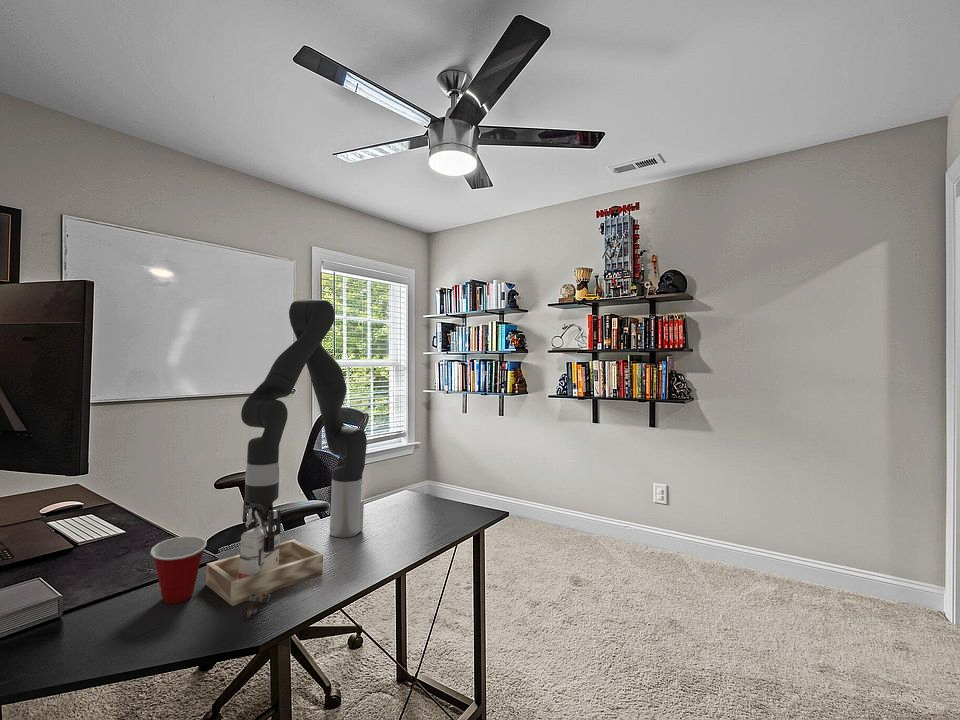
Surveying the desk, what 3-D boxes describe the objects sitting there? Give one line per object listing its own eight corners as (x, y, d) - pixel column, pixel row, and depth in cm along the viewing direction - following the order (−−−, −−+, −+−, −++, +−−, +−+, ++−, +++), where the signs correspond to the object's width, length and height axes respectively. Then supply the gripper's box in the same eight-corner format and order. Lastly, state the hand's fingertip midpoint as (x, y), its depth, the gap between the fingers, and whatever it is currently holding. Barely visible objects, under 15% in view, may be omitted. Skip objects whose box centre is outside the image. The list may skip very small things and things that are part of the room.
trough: (293, 557, 134) (293, 539, 134) (322, 574, 125) (323, 554, 125) (205, 584, 116) (206, 563, 116) (232, 606, 107) (233, 583, 107)
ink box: (254, 587, 114) (256, 536, 114) (237, 583, 115) (239, 533, 115) (279, 572, 122) (281, 525, 122) (263, 569, 124) (265, 522, 124)
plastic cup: (140, 612, 103) (142, 556, 103) (158, 588, 113) (160, 537, 113) (197, 607, 106) (200, 552, 106) (210, 584, 117) (212, 534, 116)
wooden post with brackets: (241, 617, 101) (247, 593, 103) (258, 614, 109) (262, 592, 111) (250, 618, 101) (255, 594, 103) (265, 615, 109) (270, 593, 110)
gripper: (292, 483, 117) (289, 550, 117) (263, 472, 126) (261, 534, 126) (261, 489, 111) (259, 560, 112) (233, 477, 120) (231, 542, 121)
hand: (260, 546), depth 119 cm, fingers open, 8 cm apart
